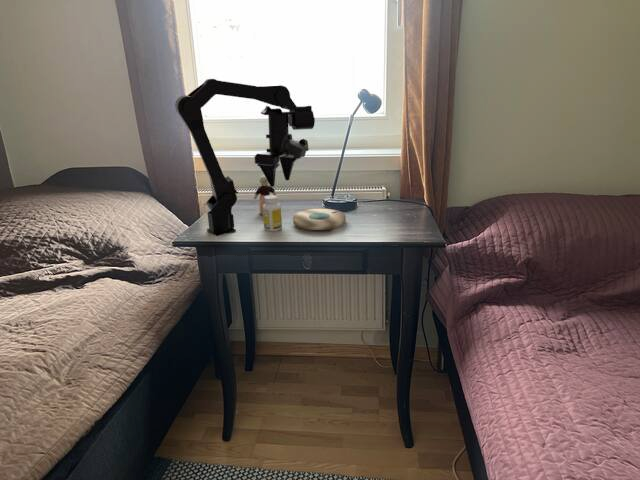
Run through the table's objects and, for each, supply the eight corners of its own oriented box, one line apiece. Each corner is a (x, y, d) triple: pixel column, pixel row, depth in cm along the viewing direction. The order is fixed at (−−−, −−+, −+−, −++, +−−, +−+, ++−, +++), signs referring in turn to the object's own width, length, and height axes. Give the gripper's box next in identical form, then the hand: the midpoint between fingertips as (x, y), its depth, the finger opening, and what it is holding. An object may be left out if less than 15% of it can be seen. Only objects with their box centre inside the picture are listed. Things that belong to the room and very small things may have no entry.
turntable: (314, 236, 130) (314, 228, 129) (283, 223, 142) (282, 215, 141) (356, 224, 139) (356, 216, 138) (323, 212, 151) (323, 205, 150)
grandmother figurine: (260, 216, 149) (257, 178, 145) (253, 213, 152) (250, 176, 148) (279, 211, 154) (277, 174, 149) (273, 209, 157) (270, 172, 152)
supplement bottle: (283, 225, 140) (281, 194, 137) (280, 231, 135) (278, 199, 132) (266, 225, 141) (263, 194, 137) (262, 231, 136) (259, 199, 132)
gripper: (287, 135, 122) (289, 193, 128) (317, 128, 138) (317, 179, 144) (252, 133, 127) (254, 188, 132) (284, 126, 143) (285, 176, 148)
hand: (280, 183), depth 139 cm, fingers open, 9 cm apart
